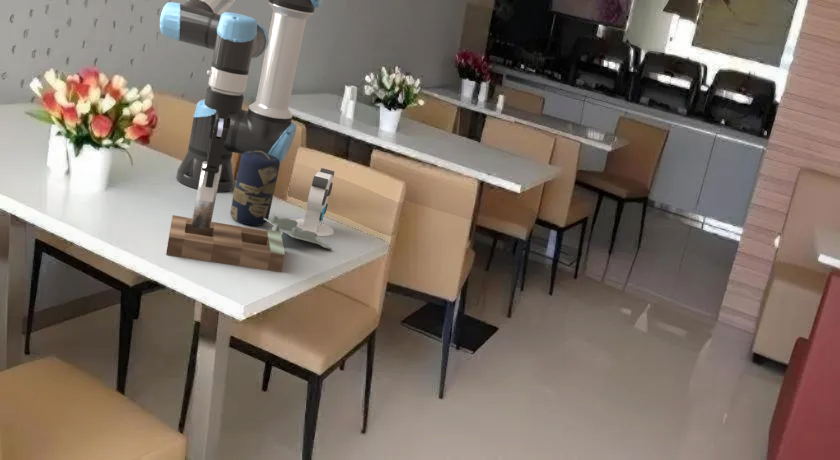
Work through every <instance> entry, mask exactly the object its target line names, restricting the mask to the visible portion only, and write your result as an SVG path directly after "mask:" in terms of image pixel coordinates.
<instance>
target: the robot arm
mask: <svg viewBox="0 0 840 460" xmlns="http://www.w3.org/2000/svg"><path fill="white" fill-rule="evenodd" d="M236 1H237V0H187V1H186V2H184V3H183V4H182V3H180V2H174V1H170V2H169V1H168V2H166V3H165V4H164V6H163V8H162V10H161V14H160V17H159V30H160V32H161V34H162V36H164V37H166V38H169V39H171V40H175V41H177V42H182V43H185V44H189V45H192V46H193V45H194V46H198V47H202V48H206V49H210V50H212V51H213V55H212V59H211V60H212V61H211V67H210V69H211V70H210V69H209V70H208V69H207V71H206V75H208V76H209V78H208V83H207V84H208V86H209V87H208V88H207V89H206V91H205V92H206V93H205V96H204V97H205V98H204V99H200V100H199V101H198V102H197V103H196V106H195V111H194V114H193V117H192V118H193V120H192V125H191V131H190V136H189V137H190V138H189V141H188V142H189V144H188V149H187V151H186V152H187V153H186V154H185V156H184V158H183V159H182V161H181V163H180V165H179V167H178V168H177V172H176V178H175V179H176V180H177V181H178V182H179V183H181V184H182V185H184V186H187V187H190V188H193V189H197V190H198V185H199V179H200V174H201V168H202V163H203V162H204V161H207V166H206V167H205V168H202V171H205V172H204V177H203V183H202V188H201V193H200V199H199V200H203V201H208V202H213V197H214V192H215V186H216V181H217V176H218V172H219V166H220V165H222V168H221V173H220V178H219V184H218V189H217V193H221V192H223V193H224V192H229V191H231V190H232V189H233V187H234V182H235V178H234V171H233V163H232V158H233V153H235V154H240V155H242V154H243V153H244V152H247V151H263V152H264V153H266V154H269V155H272V156H275V157H276V158H278V159H279V161H280V163H281V162H282V161H284V160H285V158H286V157H287V154H288V153H289V150H290V148H291V146H292V144H293V141H294V138H295V135H296V131H297V124H296V123H295V122H292V119H293V113H292V112H291V111H290V109H289V105H290V100H291V97H292V91H293V86H294V85H293V84H294V80H295V75H296V70H297V66H298V61H299V57H300V51H301V46H302V41H303V37H304V31H305V27H306V22H307V19H308V18H309V17H311V16H312V15H313V14H314V13H315V9H318V8H321V6H322V4H323V2H324V0H268V4H269V6H270V7H271V9H272V15H271V20H270V25H269V29H268V30H269V31H267V30H266V28H265V27H264V26H263V25H261V24H260V23H258V21H257V20H256V19H255V18H254V17H251V16H249V15H244V14H242V13H241V14H240V13H236V12H229V11H228V10H229V8H231V6H232V5H233V4H234V3H235V2H236ZM263 53H264V56H263V62H262V65H261V66H262V67H261V72H260V76H259V77H260V78H259V83H258V89H257V94H256V98H255V101H253V102H252V103H251V104H249V105H248V110H245V109H243V102H244V93H246V89H247V84H248V78H249V71H250V66H251V61H252V59H255V58H258V57H259V56H261V55H263Z"/></svg>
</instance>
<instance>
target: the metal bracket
mask: <svg viewBox="0 0 840 460" xmlns="http://www.w3.org/2000/svg"><path fill="white" fill-rule="evenodd" d="M264 220H266V221H267V222H268V223H269V224H270V225H272V228H271V230H273V231H279V232H281V237H282V236H283V235H284V233H285V234H286V235H288V236H290V237H291V238H293V239H298V240H302V241H305V242H309V243H313V244H317V245H319V246H321V247H322V248H324V249H329V250H332V249H333V248H332V247H331V246H330V245H329V244H326V243H324V242H323V241H322V240H320V239H318V238H317V237H318V236H317V234H316V233H314V232H311V231H307V230H302V229H301V228H299V227H297V222H296V221H295V219H291V218H288V217H287V218H286V217H283V218H279V216H278V215H276V214H273V215H272V216H271V219H269V218H268V219H265V218H264ZM267 222H266V223H267ZM282 238H283V237H282Z"/></svg>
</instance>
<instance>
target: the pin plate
mask: <svg viewBox="0 0 840 460" xmlns="http://www.w3.org/2000/svg"><path fill="white" fill-rule="evenodd" d="M192 218H193V217H188V216H187V217H185V216H180V215H173V214H172V217H171V224H170V228H169V234H168V240H167V245H168V246H167V245H166V253H165V256H173V257H178V258H179V257H180V258H186V259H192V260H193V259H194V260H199V261H204V262H205V261H206V262H210V263H211V262H212V263H219V264H226V265H231V266H237V267H245V268H251V269H258V270H265V271H271V272H278V273H281V272H282V268H283V264H284V260H285V255H286V253H285V248H284V243H283V237H281V232H279V231H273V230H272V229H267V230H263V229H257V228H253V227H252V228H251V227H248V226H247V227H246V226H239V225H234V224H229V223H228V224H226V223H221V222H216V221H211V226H210V228H209V229H198V228H195V227H193V226H192V225H191V223H192Z"/></svg>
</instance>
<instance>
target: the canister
mask: <svg viewBox="0 0 840 460" xmlns="http://www.w3.org/2000/svg"><path fill="white" fill-rule="evenodd" d="M240 155H241V156H240V160H239V161H240V162H239V165H238V171H237V173H236V180H235V185H234V189H233V192H232V193H233V194H232V200H231V208H230V211H229V213H230V217H231V218H232V219H233V220H234V221H236V222H239V223H242V224H246V225H250V226H251V225H252V226H262V225H265V224H267V221H266V220H264V218H265V219H269V218H270V213H271V209H272V208H271V207H272V204H273V198H274V194H275V191H276V187H277V186H276V185H277V180H278V177H279V176H278V175H279V171H280V165H281V162H280V161H279V159H278V158H276V157H275V156H272V155H269V154H266V153H264V152H263V151H247V152H244V153H243V154H240Z"/></svg>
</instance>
